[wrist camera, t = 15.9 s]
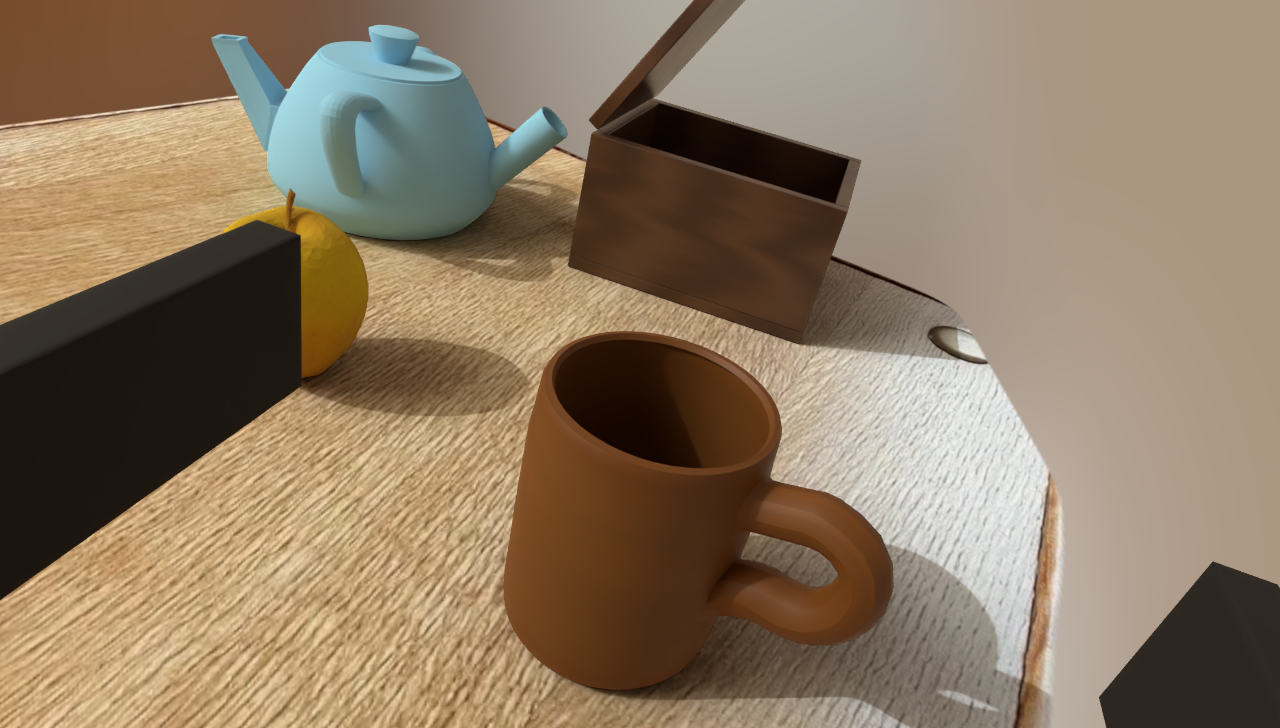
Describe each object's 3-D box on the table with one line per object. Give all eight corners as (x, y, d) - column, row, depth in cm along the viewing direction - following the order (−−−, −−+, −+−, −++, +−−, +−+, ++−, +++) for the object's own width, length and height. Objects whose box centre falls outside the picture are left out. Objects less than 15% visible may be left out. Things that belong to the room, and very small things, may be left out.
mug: (850, 683, 28) (963, 482, 23) (745, 852, 22) (866, 631, 17) (592, 502, 33) (639, 305, 28) (452, 601, 27) (481, 375, 22)
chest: (820, 272, 59) (861, 160, 55) (798, 344, 49) (847, 211, 44) (627, 210, 62) (652, 98, 57) (567, 265, 51) (591, 132, 47)
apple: (312, 315, 40) (311, 163, 36) (394, 373, 37) (402, 217, 33) (184, 353, 35) (166, 184, 31) (267, 423, 33) (259, 248, 29)
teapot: (353, 282, 44) (358, 75, 38) (214, 169, 52) (201, -14, 47) (558, 239, 54) (586, 73, 49) (415, 151, 63) (424, 1, 57)
